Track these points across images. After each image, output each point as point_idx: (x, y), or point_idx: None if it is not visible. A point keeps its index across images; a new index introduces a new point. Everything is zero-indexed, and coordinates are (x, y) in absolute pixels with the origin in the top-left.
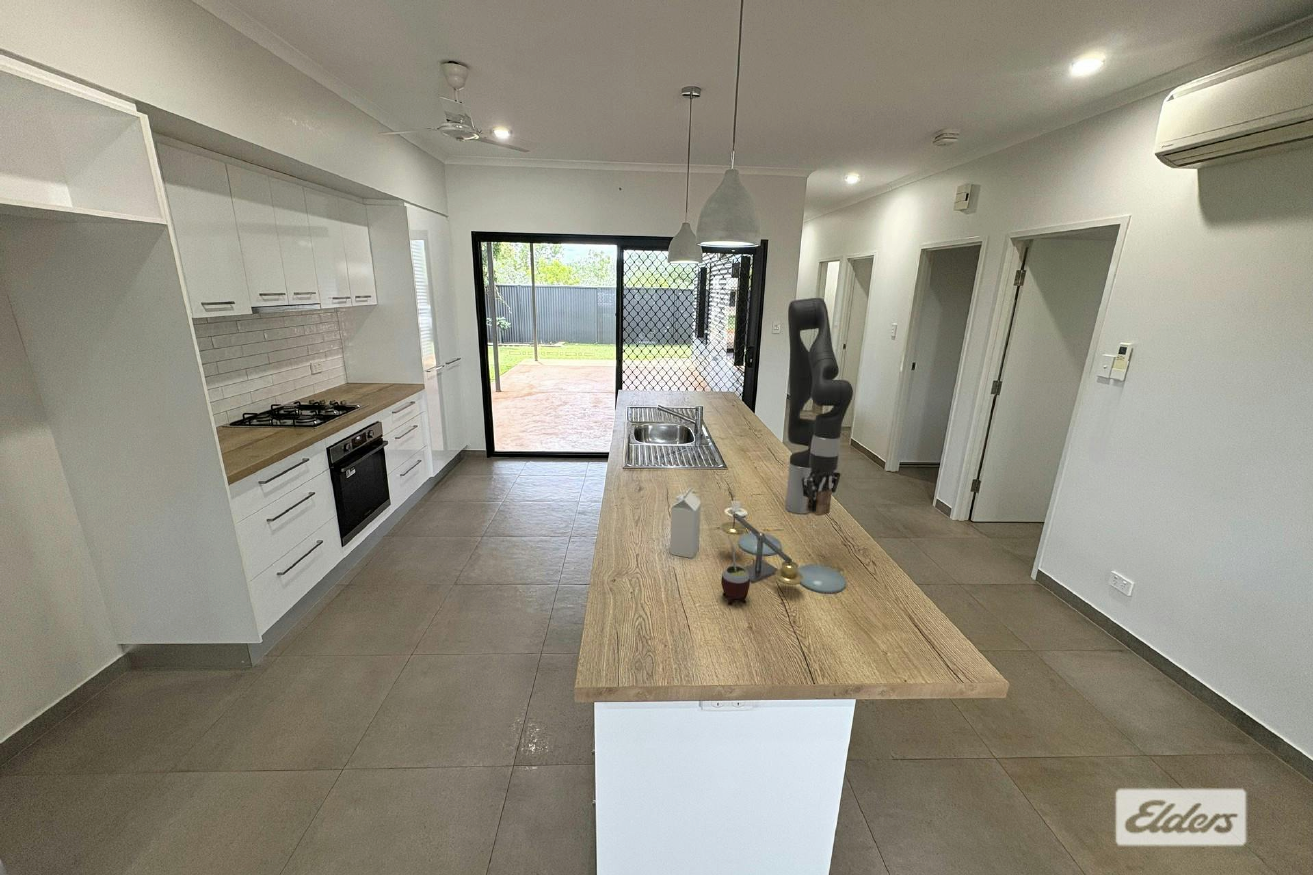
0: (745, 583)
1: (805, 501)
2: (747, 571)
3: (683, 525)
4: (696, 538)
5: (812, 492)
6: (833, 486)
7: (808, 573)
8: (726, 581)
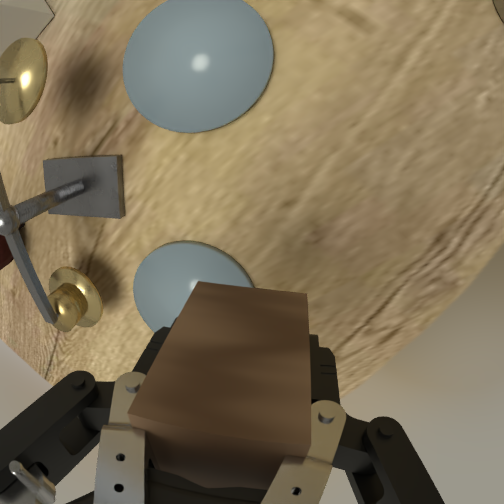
0: None
1: None
2: (56, 179)
3: None
4: (3, 38)
5: (86, 451)
6: (358, 495)
7: (175, 278)
8: None
